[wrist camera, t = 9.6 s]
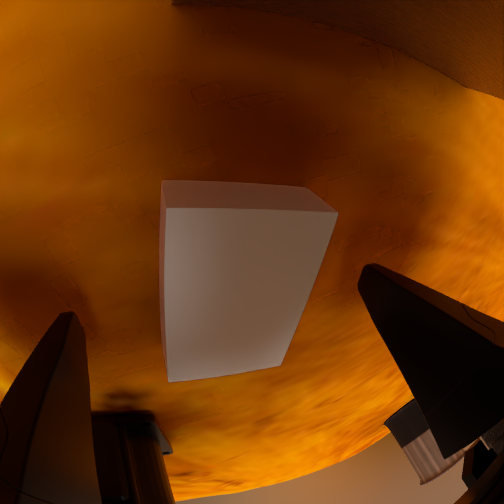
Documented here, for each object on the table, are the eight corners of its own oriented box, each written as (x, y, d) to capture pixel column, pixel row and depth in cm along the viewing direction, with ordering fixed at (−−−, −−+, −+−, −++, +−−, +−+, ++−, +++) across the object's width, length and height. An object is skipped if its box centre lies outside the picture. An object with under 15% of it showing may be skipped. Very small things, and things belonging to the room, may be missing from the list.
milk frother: (387, 424, 42) (422, 480, 30) (368, 423, 32) (416, 499, 21) (446, 376, 40) (486, 430, 28) (449, 358, 30) (504, 431, 19)
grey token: (261, 326, 11) (280, 365, 10) (160, 337, 10) (168, 382, 8) (301, 183, 8) (338, 212, 7) (161, 175, 7) (166, 207, 5)
